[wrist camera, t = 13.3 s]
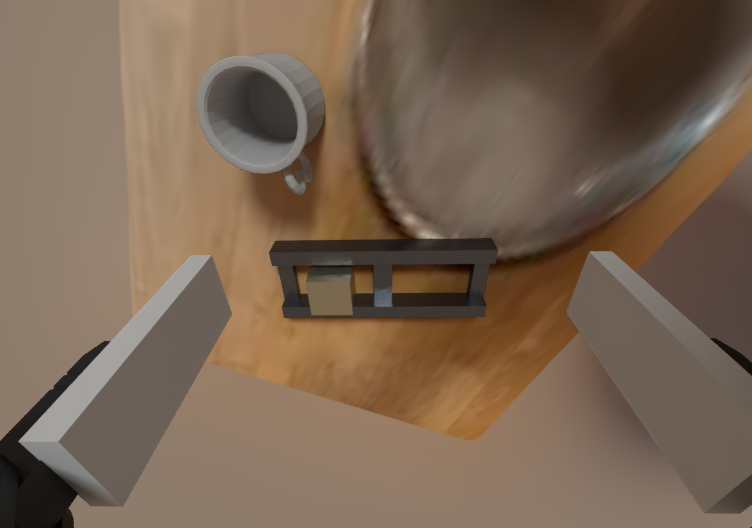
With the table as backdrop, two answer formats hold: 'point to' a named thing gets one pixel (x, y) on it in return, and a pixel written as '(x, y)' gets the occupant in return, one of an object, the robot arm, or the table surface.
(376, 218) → the table surface
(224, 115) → the mug
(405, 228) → the table surface
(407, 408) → the table surface
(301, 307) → the rail
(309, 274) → the brushed top tan cube
